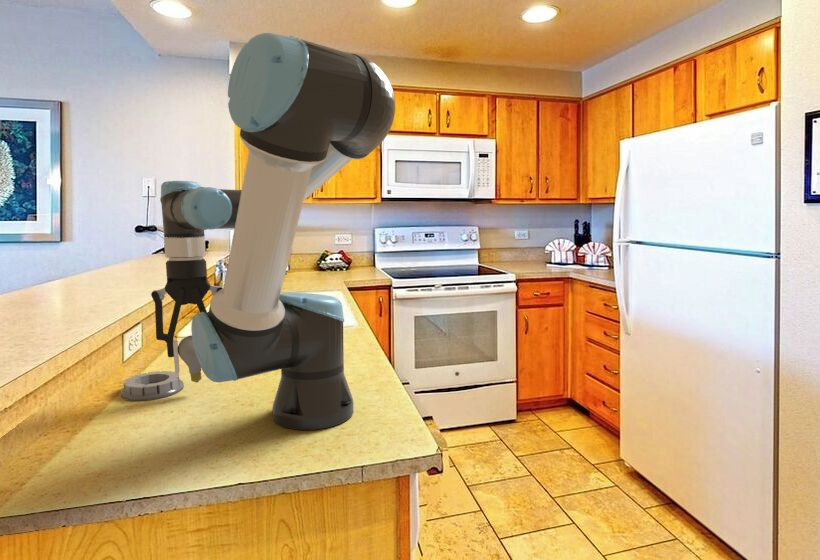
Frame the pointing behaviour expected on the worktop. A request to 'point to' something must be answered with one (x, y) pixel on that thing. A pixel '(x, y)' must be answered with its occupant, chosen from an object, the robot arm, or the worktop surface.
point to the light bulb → (190, 358)
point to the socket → (151, 386)
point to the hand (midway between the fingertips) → (193, 369)
